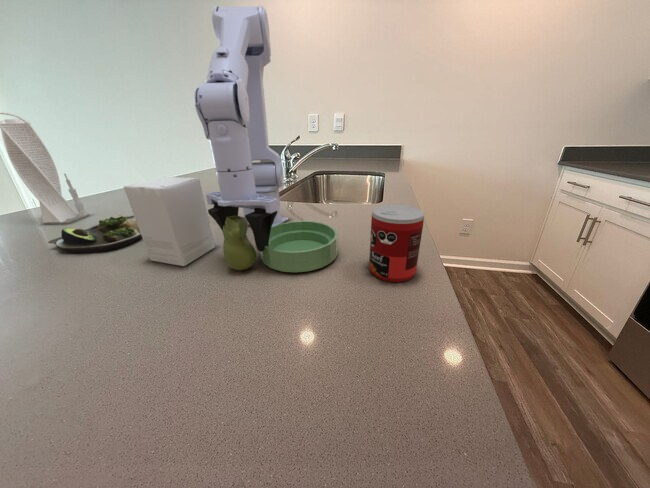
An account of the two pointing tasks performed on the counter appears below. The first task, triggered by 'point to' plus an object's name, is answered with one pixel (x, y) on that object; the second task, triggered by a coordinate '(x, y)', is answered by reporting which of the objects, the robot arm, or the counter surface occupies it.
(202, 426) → the counter surface
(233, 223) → the pear
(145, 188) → the white product box
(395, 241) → the canned food
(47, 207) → the skyscraper
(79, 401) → the counter surface
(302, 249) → the bowl
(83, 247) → the salad plate
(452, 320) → the counter surface
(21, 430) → the counter surface
